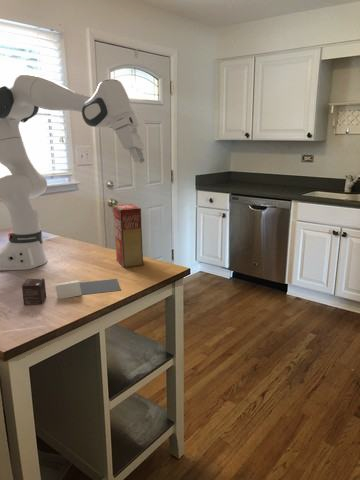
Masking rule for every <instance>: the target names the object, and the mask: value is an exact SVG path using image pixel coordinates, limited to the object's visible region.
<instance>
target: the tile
mask: <svg viewBox="0 0 360 480" xmlns="http://www.w3.org/2000/svg"><path fill="white" fill-rule="evenodd" d="M80 283H81V282H80V279H78V280H70V281H65V282H59V283H55V285H54V286H55V293H56V297H57V299H58V300H59V299H67V298H72V297H78V296H83V295H82V294H81V287H80Z"/></svg>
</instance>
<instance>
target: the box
mask: <svg viewBox="0 0 360 480" xmlns="http://www.w3.org/2000/svg"><path fill="white" fill-rule="evenodd" d="M21 289H22V290H21V291H22V299H23V301H22V302H23V306H37V305H38V306H39V305H41V306H43V304H44V303H45V301H46V299H47V292H46V291H47V289H46V281H45V278H28V279H27V278H26V280H24V282H23V283H22V285H21Z"/></svg>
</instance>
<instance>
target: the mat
mask: <svg viewBox="0 0 360 480" xmlns="http://www.w3.org/2000/svg"><path fill="white" fill-rule="evenodd" d="M80 287H81V294H82V295H81V296H85V295H93V294H102V293H110V292H111V293H112V292H120V291H122V289H121V286H120V283H119V281H118V278H111V279H102V280H100V279H99V280H93V281H82V282H80Z"/></svg>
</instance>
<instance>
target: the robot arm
mask: <svg viewBox="0 0 360 480" xmlns="http://www.w3.org/2000/svg"><path fill="white" fill-rule="evenodd" d="M97 85H98V86H97V88H96V91H95V92H94V94H93V95H92V96H91V97H89V96H87V95H83V94H80V93H78V92H75V91H74V90H72V89H69V88H68V87H65V86H64V85H61V83H58V82H56V81H54V80H51V79H49V78H47V77H44V76H41V75H39V74H38V75H36V74H33V73H20V74H18V75H17V76H16V77H15V78H14V80H13V85H12V86H11V87H7V86H6V85H4V86H1V87H0V164H1V165H3V166H4V167H6V168H7V169H8V171H9V172H10V174H8V175H5V176H3V177H1V178H0V202H2V204H4V205H5V206H6V209H7V211H8V213H9V215H10V219H11V224H12V225H11V227H12V231H9V232H8V242H7V243H6V244H5V245H4V246H2V248H1V249H0V271H19V270H20V271H21V270H31V269H34V268H36V267H39V266H42V265H45V264H46V263H48V258H47V257H46V253H45V249H44V246H43V242H44V241H43V240H44V239H43V237H44V236H43V232H42V229H41V224H40V223H41V221H40V213H39V212H38V211H37V210H35V209H34V208H33V206H32V205H31V202H30V200H31V199H35V198H38V197H39V196H41V195H43V194H45V193H46V191H47V189H48V181H47V179H46V177H45V176H44V175H43V174H41V173H40V172H39V171H38V170H37V169H36V168H35V167H34V165H33V163H32V162H31V160H30V158H29V156H28V152H27V151H26V148H25V144H24V142H23V141H24V140H23V139H22V135H21V132H20V129H19V125H20V123H26V122H27V121H29V120H30V119H32V118H33V117H35V116H36V115H37V114H38V112H39V109H43V110H49V111H71V112H72V111H73V112H79V113H81V116H82V119H83V121H84V123H85V124H86V125H88V126H90V127H94V128H111V129H112V130H113V131H114V132H115V134H116V135H117V138H118V140H119V142H120V144H121V146H122V148H123V149H124V150H125V151H128V152H129V154H130V155H131V157H132V159H133V161H134V162H135V163H138V162H139V163H140V164H142V163H143V164H144V163H146V162H145V157H144V153H143V151H144V150H145V147H144V144H143V142H142V139H141V137H140V134H139V132H138V127H139V125H140V124H139V122H138V119H137V116H136V114H135V111H134V109H133V108H132V106H131V101H130V98H129V95H128V93H127V91H126V89H125V87H124V85H123V83H122V82H121V81H120V80H117V79H112V78H111V79H105V80H102V81H101V82H99V84H97Z"/></svg>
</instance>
